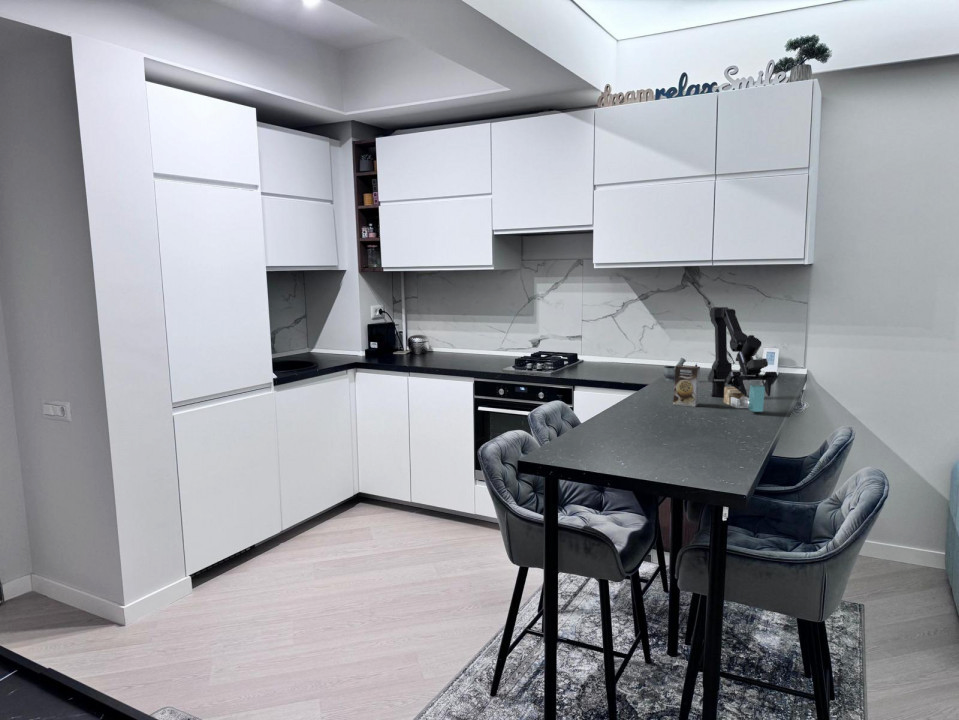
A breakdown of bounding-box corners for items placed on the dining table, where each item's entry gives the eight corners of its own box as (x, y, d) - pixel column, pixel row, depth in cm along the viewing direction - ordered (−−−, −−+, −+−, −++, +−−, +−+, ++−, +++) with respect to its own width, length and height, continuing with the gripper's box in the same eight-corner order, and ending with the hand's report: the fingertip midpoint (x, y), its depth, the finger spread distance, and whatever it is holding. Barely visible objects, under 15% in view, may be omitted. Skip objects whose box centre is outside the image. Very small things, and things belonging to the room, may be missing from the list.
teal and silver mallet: (737, 404, 272) (739, 380, 270) (747, 404, 272) (748, 380, 271) (752, 411, 258) (754, 386, 257) (763, 411, 258) (764, 386, 257)
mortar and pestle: (659, 381, 333) (660, 357, 331) (664, 378, 341) (665, 355, 340) (682, 383, 328) (684, 359, 326) (686, 380, 336) (687, 357, 334)
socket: (723, 402, 282) (724, 386, 281) (740, 402, 282) (741, 386, 281) (728, 404, 277) (729, 389, 276) (745, 404, 277) (746, 389, 276)
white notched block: (730, 405, 276) (731, 397, 275) (745, 405, 276) (746, 397, 276) (736, 408, 270) (737, 399, 269) (752, 408, 270) (752, 400, 270)
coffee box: (672, 404, 276) (674, 366, 273) (675, 402, 281) (677, 364, 279) (695, 407, 271) (697, 367, 269) (698, 404, 277) (700, 365, 275)
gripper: (731, 351, 261) (741, 383, 252) (777, 351, 262) (789, 383, 252) (721, 368, 270) (731, 400, 260) (766, 368, 271) (778, 400, 261)
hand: (757, 395), depth 258 cm, fingers open, 9 cm apart
